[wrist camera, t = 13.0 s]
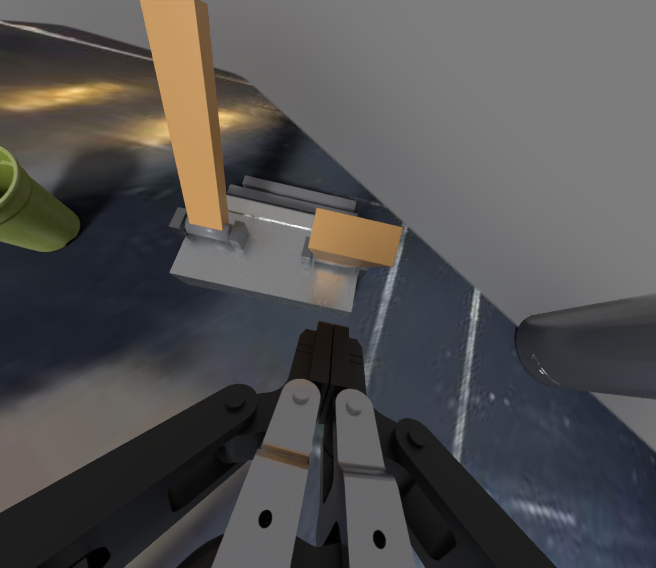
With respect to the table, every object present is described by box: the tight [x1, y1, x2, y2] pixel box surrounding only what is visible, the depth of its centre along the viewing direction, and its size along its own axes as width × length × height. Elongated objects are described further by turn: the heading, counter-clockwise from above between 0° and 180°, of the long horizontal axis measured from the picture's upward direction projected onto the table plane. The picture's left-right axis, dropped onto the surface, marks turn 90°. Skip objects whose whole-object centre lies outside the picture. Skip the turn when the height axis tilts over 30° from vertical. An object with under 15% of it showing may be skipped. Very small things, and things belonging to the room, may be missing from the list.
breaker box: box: [169, 195, 368, 318], centre depth 28 cm, size 11×21×6 cm, turn 79°
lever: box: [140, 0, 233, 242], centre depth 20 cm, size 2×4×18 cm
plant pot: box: [0, 146, 80, 252], centre depth 25 cm, size 9×9×9 cm
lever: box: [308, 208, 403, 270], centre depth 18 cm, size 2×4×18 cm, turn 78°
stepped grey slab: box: [227, 176, 358, 217], centre depth 33 cm, size 3×18×1 cm, turn 79°
